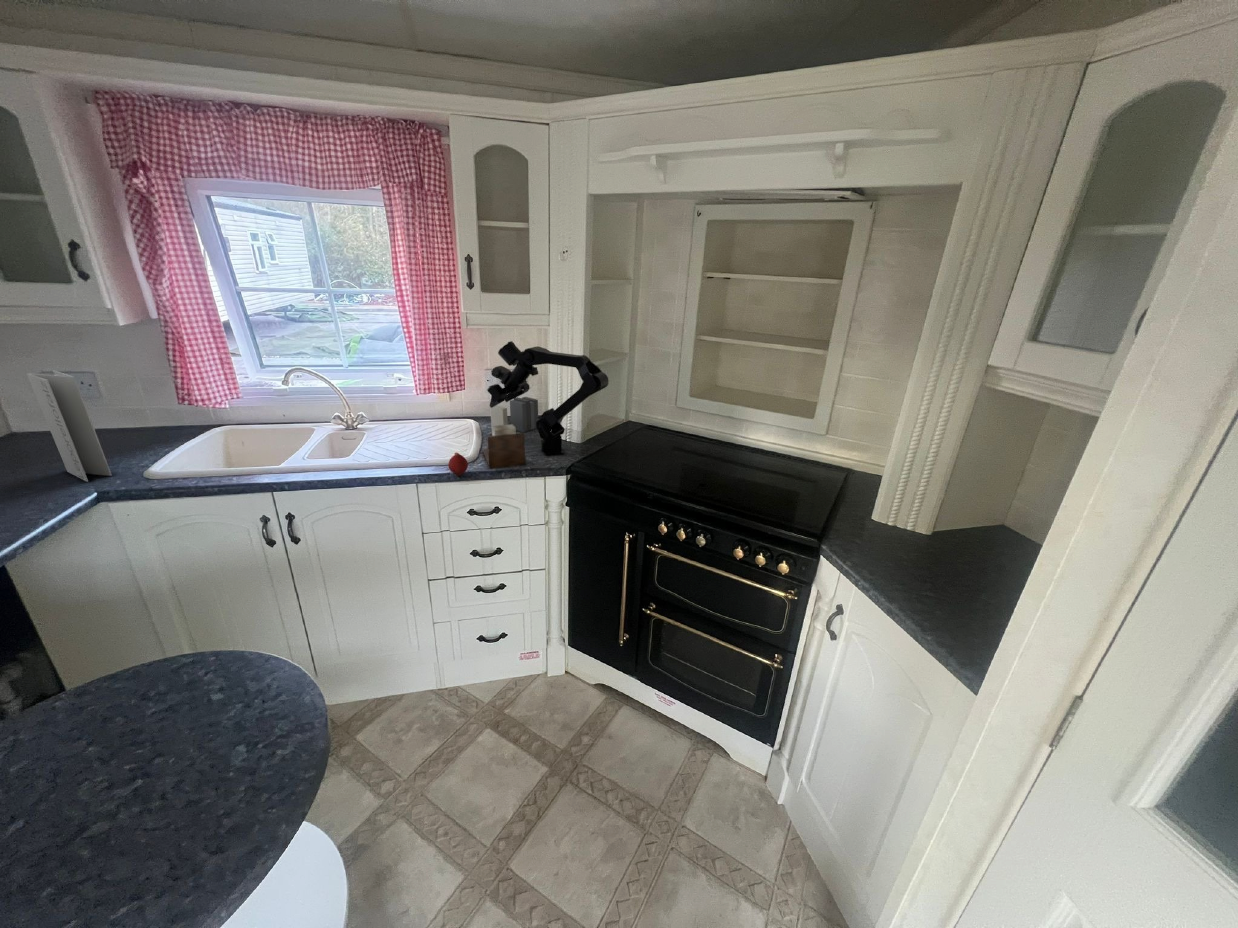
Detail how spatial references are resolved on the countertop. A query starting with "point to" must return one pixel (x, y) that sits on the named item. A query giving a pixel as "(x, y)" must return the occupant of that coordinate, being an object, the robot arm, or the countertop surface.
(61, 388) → the brochure
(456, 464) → the onion
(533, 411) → the grey books
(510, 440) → the cream-topped brown block
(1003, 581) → the countertop surface
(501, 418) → the white book
